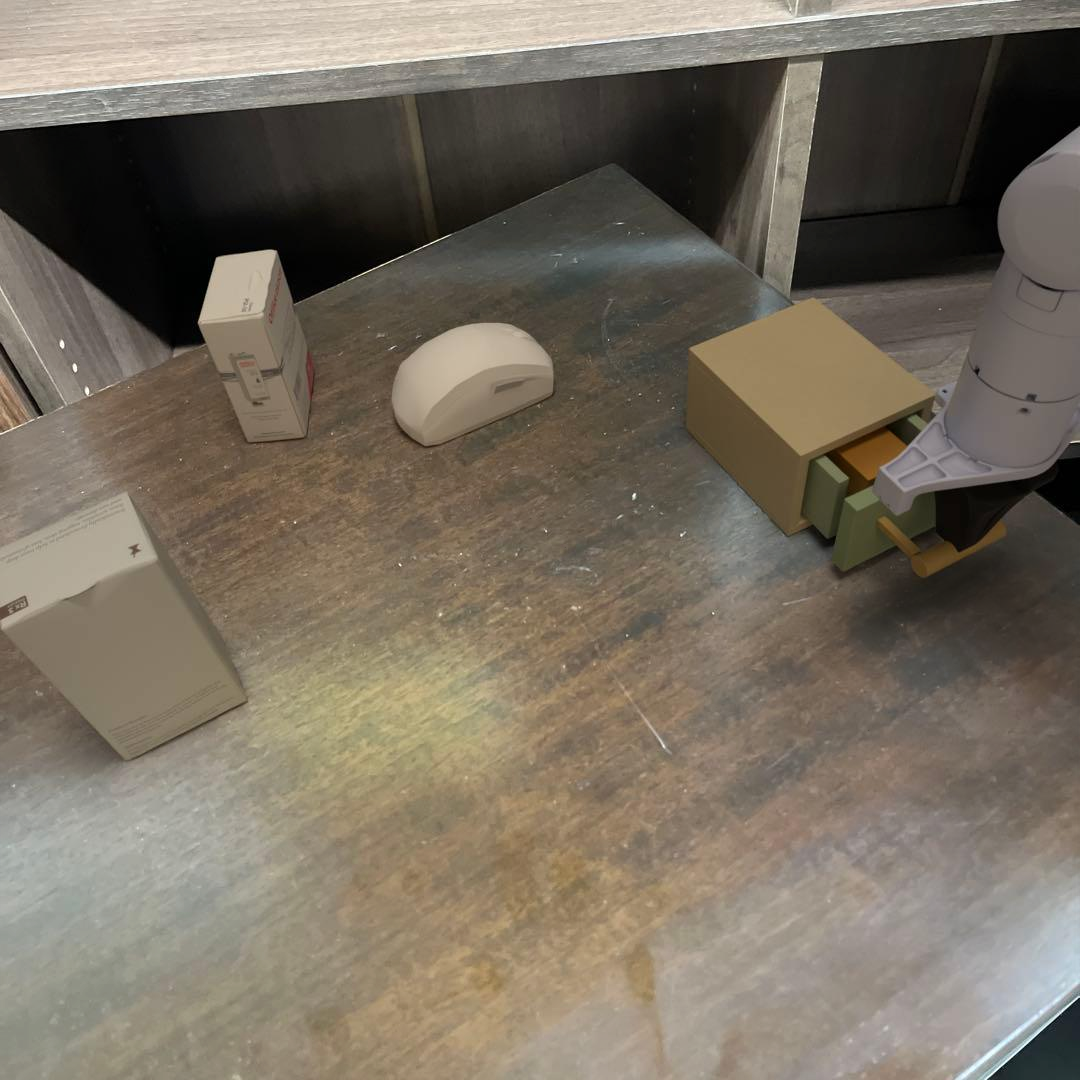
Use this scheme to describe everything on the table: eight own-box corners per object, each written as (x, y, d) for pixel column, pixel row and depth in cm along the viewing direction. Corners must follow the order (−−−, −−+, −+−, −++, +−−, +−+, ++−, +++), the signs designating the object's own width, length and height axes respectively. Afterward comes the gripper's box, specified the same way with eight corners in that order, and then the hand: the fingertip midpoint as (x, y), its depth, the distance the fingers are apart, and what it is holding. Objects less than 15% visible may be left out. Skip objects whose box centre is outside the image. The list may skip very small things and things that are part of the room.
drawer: (1011, 562, 62) (1038, 499, 58) (892, 623, 60) (911, 563, 56) (845, 415, 72) (858, 352, 68) (738, 464, 70) (744, 402, 66)
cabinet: (912, 477, 69) (936, 394, 63) (787, 537, 66) (800, 456, 61) (801, 378, 77) (813, 296, 71) (685, 428, 74) (688, 347, 68)
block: (907, 499, 65) (919, 456, 62) (858, 523, 64) (868, 480, 61) (867, 463, 68) (877, 419, 65) (819, 485, 67) (827, 442, 64)
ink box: (260, 374, 83) (213, 251, 74) (318, 368, 83) (278, 244, 74) (245, 445, 77) (193, 321, 68) (308, 439, 77) (263, 314, 68)
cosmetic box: (223, 639, 65) (134, 481, 54) (252, 706, 61) (163, 552, 50) (97, 698, 63) (-23, 546, 51) (119, 772, 59) (-5, 625, 48)
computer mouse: (565, 393, 78) (560, 328, 73) (416, 456, 75) (400, 393, 70) (527, 350, 82) (520, 286, 77) (383, 409, 79) (366, 345, 74)
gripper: (1077, 272, 52) (999, 451, 63) (856, 367, 49) (813, 540, 59) (1188, 347, 48) (1085, 524, 59) (957, 456, 45) (891, 625, 55)
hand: (954, 538), depth 59 cm, fingers closed, pressing on drawer
